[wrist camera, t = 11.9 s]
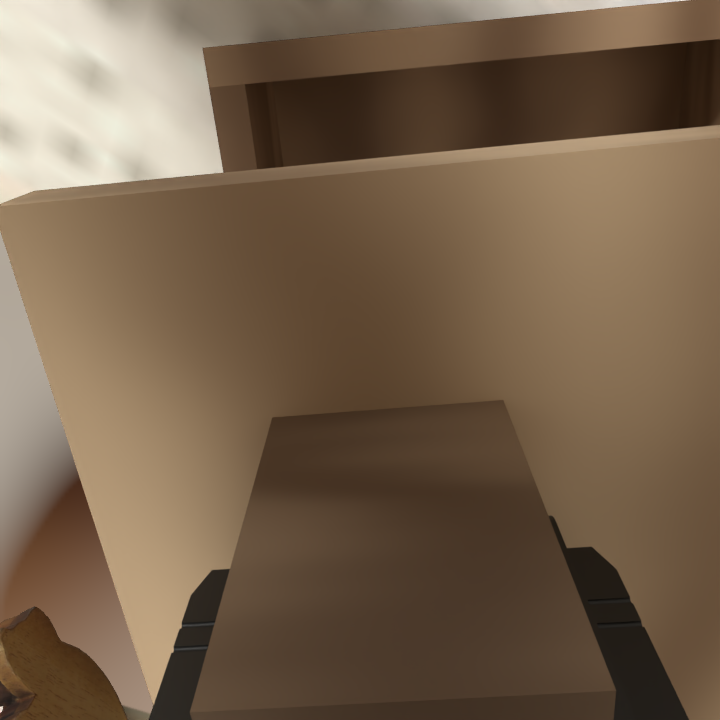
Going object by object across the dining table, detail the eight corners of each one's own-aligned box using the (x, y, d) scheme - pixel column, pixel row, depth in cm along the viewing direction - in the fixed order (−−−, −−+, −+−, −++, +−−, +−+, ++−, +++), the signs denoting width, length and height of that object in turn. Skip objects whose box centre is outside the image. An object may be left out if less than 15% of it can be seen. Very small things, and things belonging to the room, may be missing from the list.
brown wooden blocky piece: (281, 307, 34) (223, 476, 20) (243, 50, 29) (133, 44, 15) (831, 263, 33) (1166, 412, 19) (892, -14, 28) (1406, -82, 14)
